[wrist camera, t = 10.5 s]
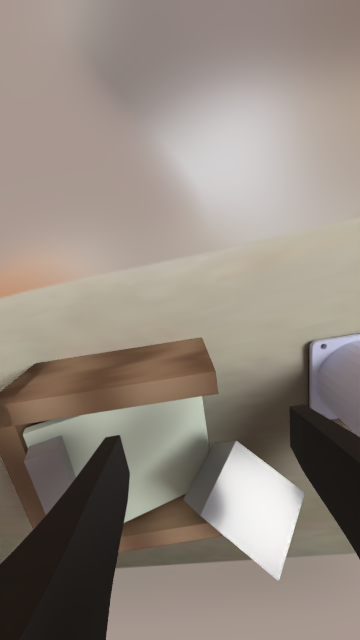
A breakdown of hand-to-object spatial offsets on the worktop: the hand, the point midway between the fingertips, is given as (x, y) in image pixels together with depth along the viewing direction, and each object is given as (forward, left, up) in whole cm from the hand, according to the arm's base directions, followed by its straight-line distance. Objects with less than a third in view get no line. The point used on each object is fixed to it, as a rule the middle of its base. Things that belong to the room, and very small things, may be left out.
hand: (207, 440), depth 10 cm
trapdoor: (+5, +6, -7) cm, 10 cm away
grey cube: (-1, +10, -6) cm, 12 cm away
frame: (+6, +6, -10) cm, 13 cm away
